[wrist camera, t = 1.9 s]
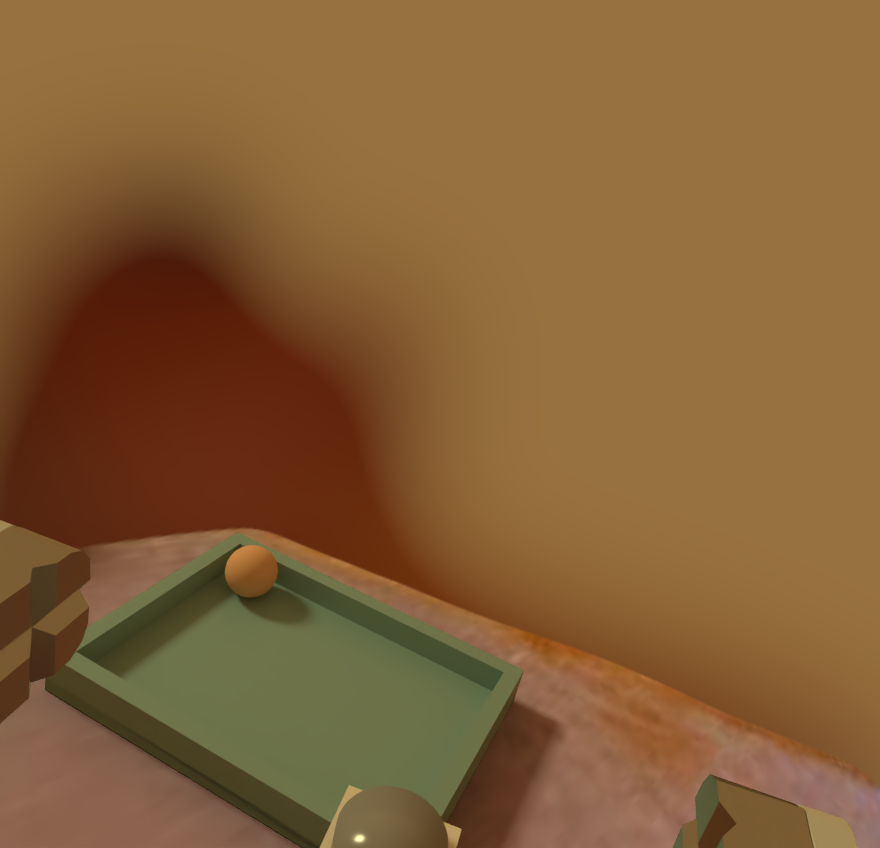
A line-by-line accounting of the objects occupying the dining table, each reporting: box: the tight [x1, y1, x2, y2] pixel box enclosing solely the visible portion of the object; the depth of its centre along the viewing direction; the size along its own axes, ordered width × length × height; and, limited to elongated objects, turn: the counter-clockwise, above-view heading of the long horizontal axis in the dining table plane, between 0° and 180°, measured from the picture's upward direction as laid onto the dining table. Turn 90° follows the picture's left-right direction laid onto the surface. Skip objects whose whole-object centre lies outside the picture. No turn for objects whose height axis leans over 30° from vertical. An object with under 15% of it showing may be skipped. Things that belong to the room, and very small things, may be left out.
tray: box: [45, 532, 524, 848], centre depth 46 cm, size 22×16×2 cm
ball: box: [225, 545, 278, 598], centre depth 52 cm, size 3×3×3 cm
